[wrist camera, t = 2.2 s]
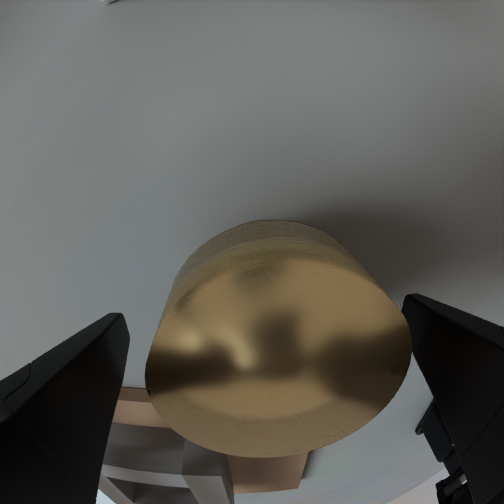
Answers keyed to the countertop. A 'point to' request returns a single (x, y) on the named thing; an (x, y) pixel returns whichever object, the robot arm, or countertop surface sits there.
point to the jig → (180, 463)
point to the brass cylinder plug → (275, 343)
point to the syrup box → (107, 1)
